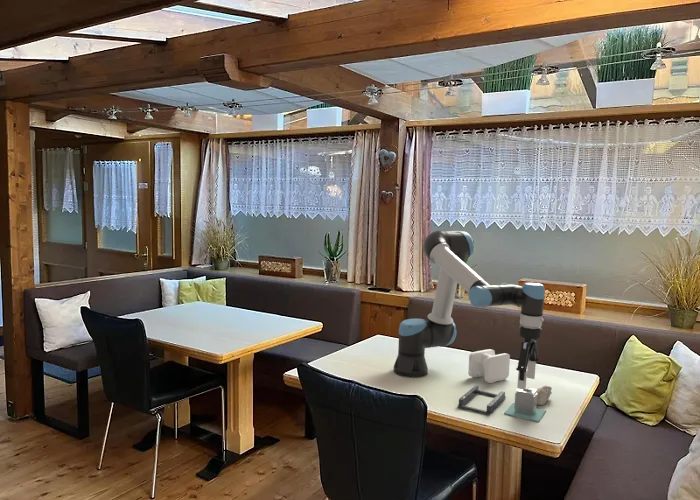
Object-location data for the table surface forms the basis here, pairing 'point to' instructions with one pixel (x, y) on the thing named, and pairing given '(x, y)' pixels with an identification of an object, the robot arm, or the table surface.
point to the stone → (543, 394)
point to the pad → (535, 417)
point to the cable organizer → (489, 365)
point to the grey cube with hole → (525, 401)
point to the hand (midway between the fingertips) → (526, 383)
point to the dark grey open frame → (475, 390)
